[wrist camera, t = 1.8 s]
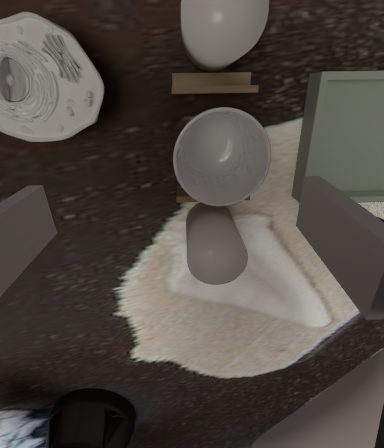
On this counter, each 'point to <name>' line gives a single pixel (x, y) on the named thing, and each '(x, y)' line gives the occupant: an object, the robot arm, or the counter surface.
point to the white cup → (221, 156)
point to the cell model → (45, 81)
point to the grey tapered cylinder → (214, 245)
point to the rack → (210, 85)
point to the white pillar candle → (220, 30)
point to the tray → (344, 134)
